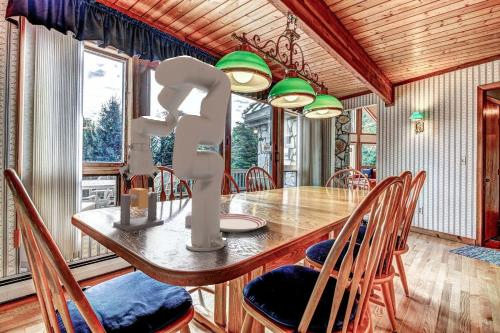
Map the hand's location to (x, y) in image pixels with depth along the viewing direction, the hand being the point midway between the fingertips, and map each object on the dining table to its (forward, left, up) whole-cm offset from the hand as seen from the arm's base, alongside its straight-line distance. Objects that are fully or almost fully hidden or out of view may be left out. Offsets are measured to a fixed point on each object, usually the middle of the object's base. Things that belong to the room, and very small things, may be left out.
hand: (139, 188), depth 108 cm
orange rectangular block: (0, 0, -8) cm, 8 cm away
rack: (0, 0, -16) cm, 16 cm away
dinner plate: (-32, -26, -16) cm, 44 cm away
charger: (-13, -20, -16) cm, 29 cm away
